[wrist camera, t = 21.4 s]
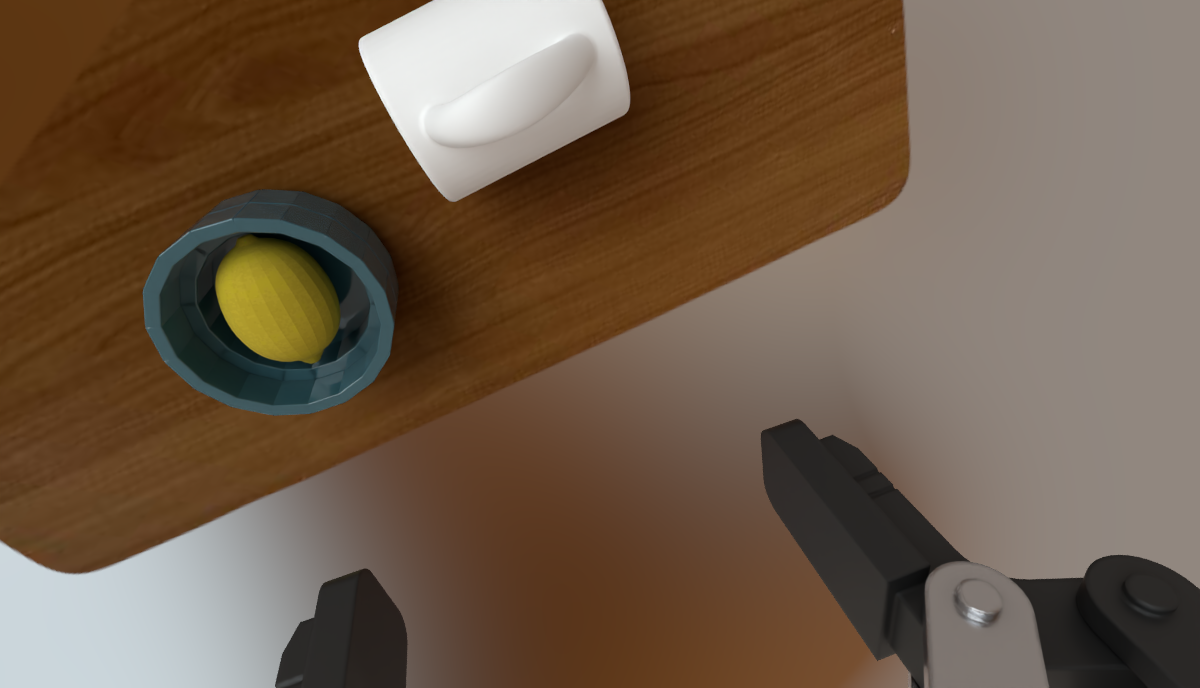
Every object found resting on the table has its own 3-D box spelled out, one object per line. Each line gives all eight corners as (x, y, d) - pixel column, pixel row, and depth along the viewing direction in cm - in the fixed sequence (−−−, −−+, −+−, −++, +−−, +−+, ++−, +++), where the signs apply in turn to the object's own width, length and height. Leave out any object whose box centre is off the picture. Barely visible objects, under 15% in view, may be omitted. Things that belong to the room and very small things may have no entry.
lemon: (359, 326, 36) (299, 207, 32) (365, 363, 32) (296, 230, 28) (269, 360, 35) (194, 240, 31) (263, 404, 30) (174, 269, 26)
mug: (604, 101, 34) (677, 140, 24) (450, 181, 34) (458, 252, 24) (543, -56, 29) (602, -90, 19) (365, 36, 29) (331, 50, 19)
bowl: (139, 221, 31) (83, 262, 26) (349, 160, 32) (333, 188, 27) (255, 383, 37) (228, 441, 32) (427, 327, 38) (426, 375, 33)
